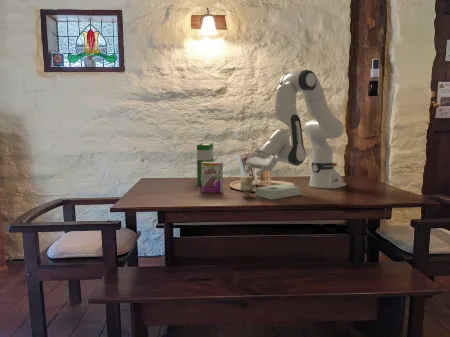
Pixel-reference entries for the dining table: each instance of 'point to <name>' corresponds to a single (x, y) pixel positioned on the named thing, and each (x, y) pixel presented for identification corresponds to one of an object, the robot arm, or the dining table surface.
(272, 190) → the board
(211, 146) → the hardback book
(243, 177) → the peg
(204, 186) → the candy bar box
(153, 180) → the dining table surface
